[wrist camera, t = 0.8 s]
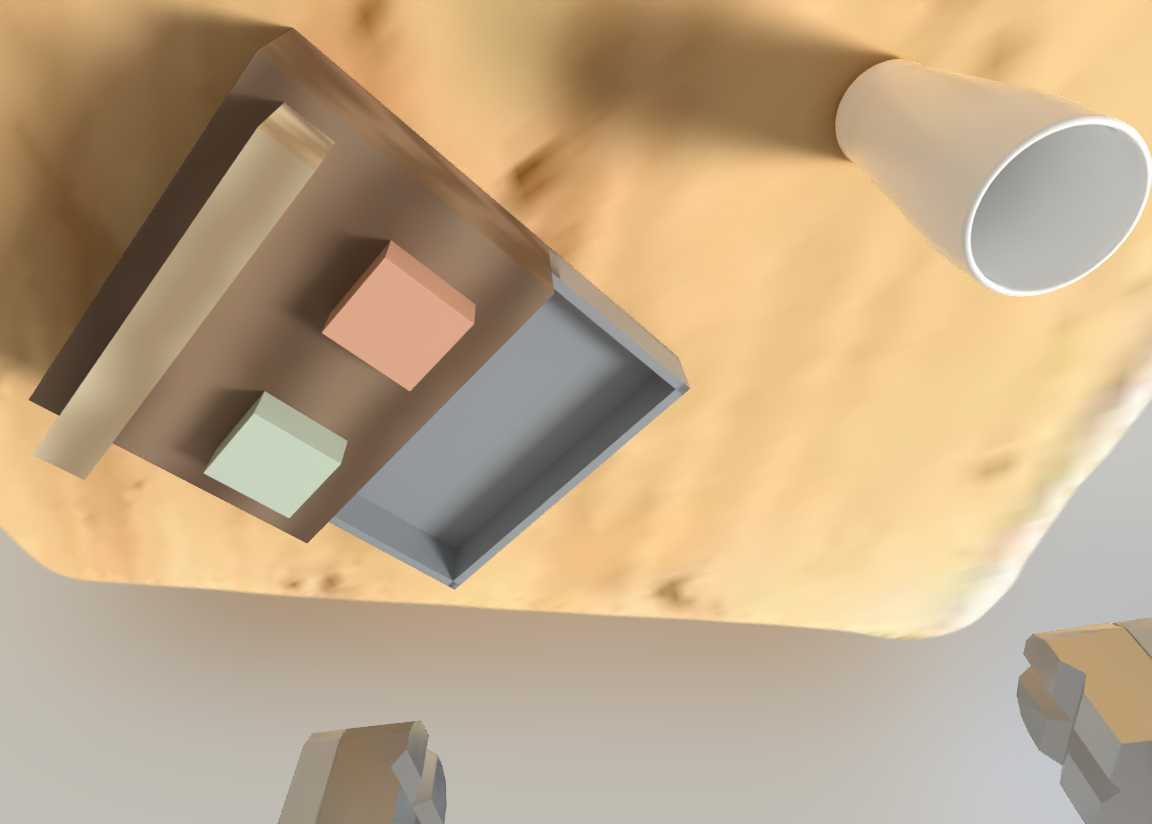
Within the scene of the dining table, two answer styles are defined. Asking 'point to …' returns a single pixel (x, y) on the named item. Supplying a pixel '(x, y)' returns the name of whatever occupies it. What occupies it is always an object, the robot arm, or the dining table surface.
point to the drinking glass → (997, 172)
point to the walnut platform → (311, 286)
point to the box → (518, 433)
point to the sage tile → (276, 456)
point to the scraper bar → (187, 287)
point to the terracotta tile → (400, 317)
